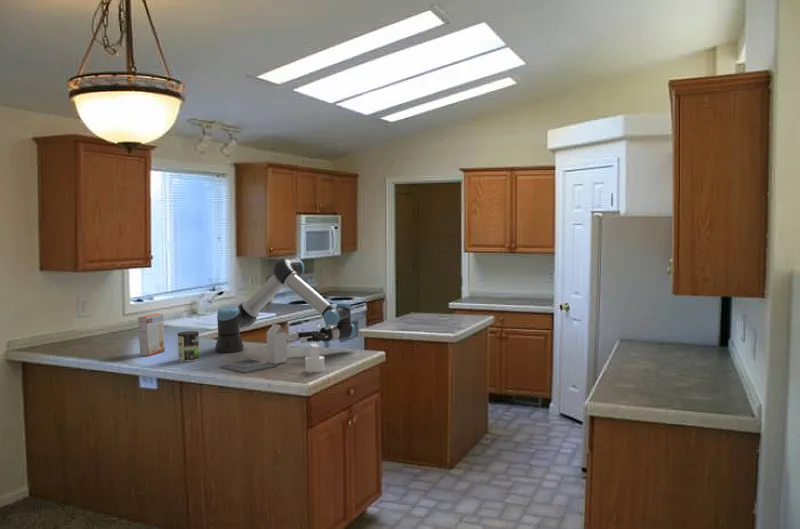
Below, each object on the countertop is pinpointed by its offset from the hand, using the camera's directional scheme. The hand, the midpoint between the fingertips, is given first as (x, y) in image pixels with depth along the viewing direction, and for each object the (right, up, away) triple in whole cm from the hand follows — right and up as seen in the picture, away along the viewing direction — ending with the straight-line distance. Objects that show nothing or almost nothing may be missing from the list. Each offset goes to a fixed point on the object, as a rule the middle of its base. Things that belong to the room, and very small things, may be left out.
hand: (293, 338), depth 337 cm
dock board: (-19, -12, -16) cm, 28 cm away
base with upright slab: (+14, -12, -25) cm, 31 cm away
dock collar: (-19, -12, -16) cm, 28 cm away
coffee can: (-54, -11, +3) cm, 55 cm away
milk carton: (-7, -11, -5) cm, 15 cm away
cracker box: (-80, -11, +21) cm, 83 cm away
